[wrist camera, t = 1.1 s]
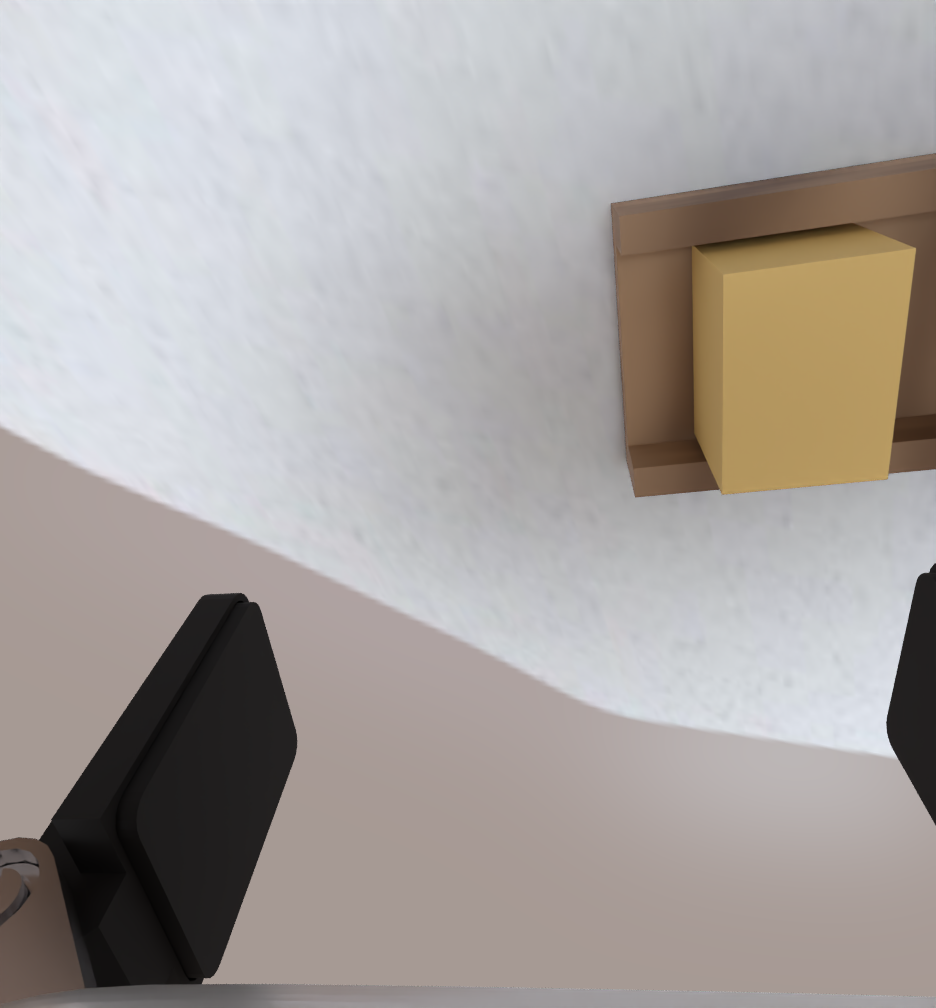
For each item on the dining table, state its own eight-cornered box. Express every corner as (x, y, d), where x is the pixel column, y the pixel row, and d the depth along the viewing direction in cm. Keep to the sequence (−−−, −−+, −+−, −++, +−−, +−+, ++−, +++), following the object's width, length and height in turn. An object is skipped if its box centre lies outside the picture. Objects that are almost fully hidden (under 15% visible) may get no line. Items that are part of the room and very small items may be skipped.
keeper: (848, 221, 24) (916, 248, 20) (832, 418, 27) (887, 479, 23) (691, 243, 25) (723, 274, 21) (694, 433, 28) (722, 494, 24)
